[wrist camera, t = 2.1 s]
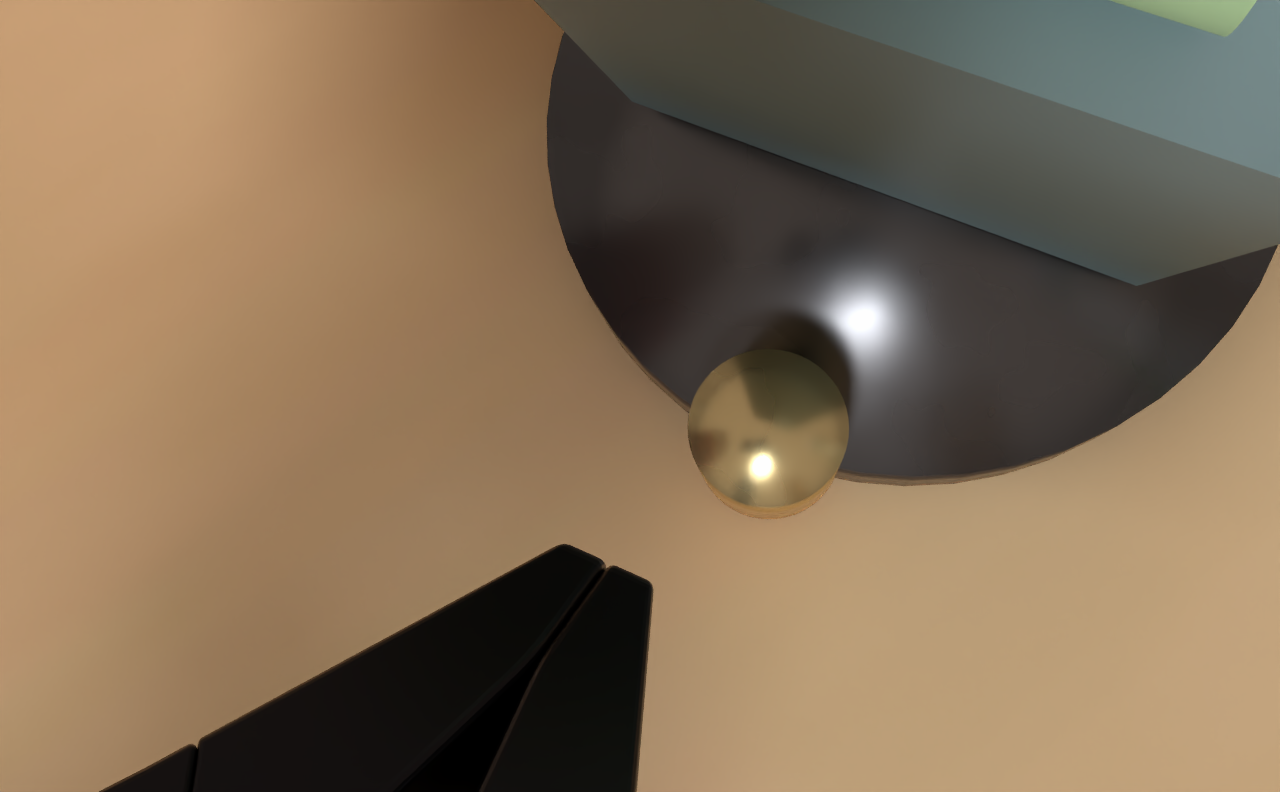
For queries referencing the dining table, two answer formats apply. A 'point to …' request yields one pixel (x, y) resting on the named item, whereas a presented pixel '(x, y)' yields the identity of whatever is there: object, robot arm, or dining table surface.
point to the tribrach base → (849, 311)
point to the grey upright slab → (988, 109)
